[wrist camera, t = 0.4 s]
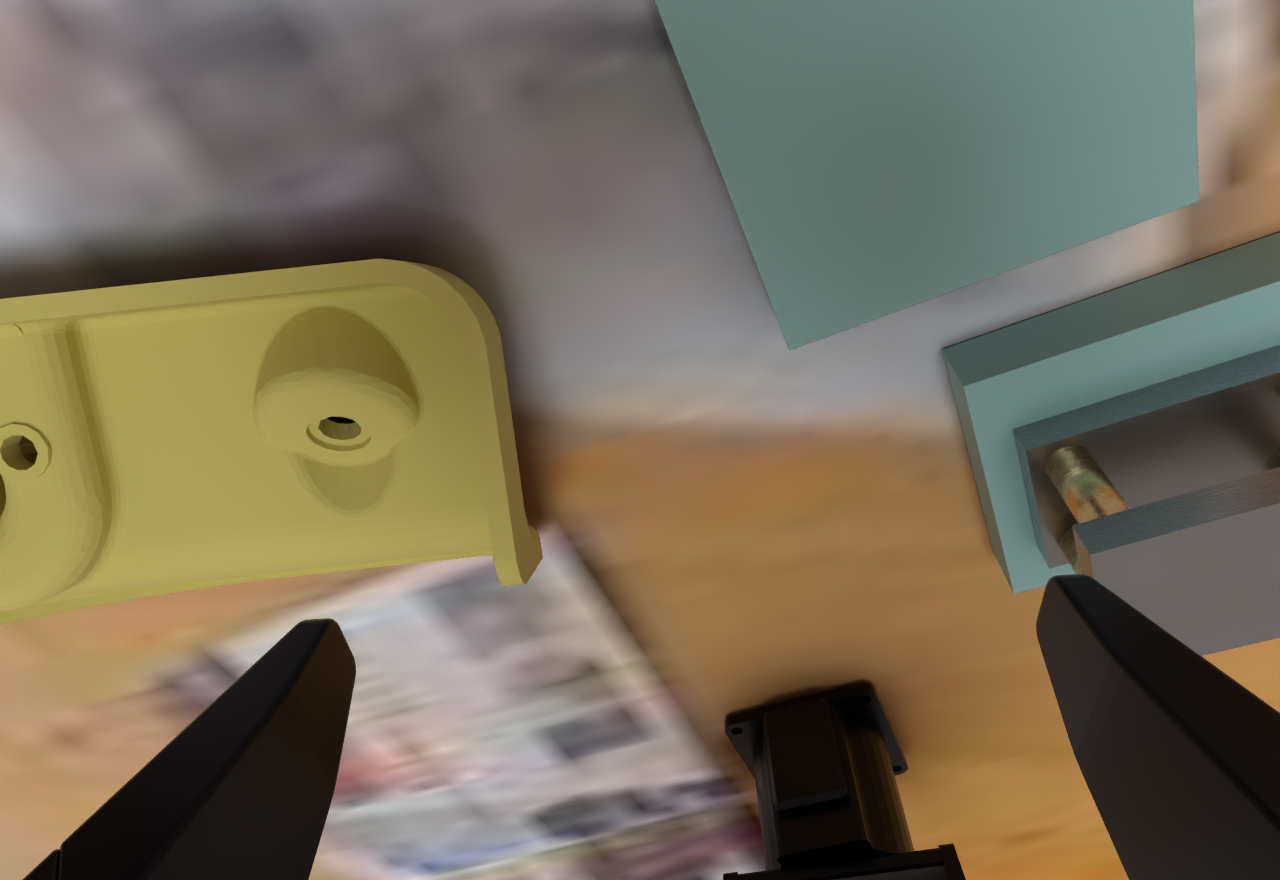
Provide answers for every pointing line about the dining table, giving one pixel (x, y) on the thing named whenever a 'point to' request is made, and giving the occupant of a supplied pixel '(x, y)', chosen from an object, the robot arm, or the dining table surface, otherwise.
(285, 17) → the dining table surface
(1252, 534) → the housing
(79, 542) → the plastic component
